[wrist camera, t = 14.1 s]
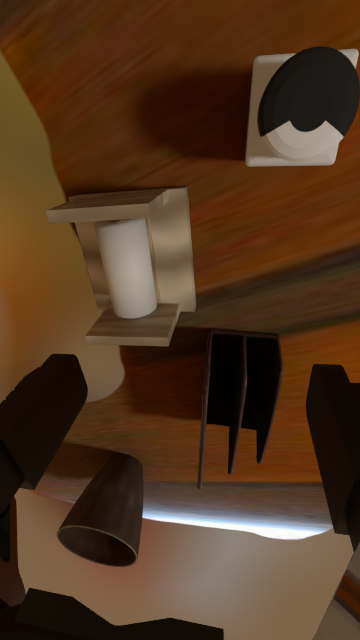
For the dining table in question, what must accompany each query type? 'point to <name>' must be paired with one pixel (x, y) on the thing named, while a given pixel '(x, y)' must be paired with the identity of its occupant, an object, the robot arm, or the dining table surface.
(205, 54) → the dining table surface
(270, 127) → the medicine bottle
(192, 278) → the roll holder
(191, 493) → the dining table surface
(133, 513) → the plant pot
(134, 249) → the paper roll
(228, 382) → the letter holder
